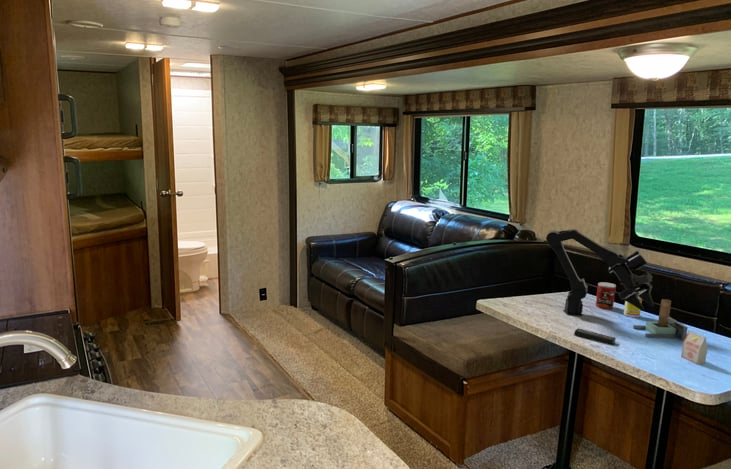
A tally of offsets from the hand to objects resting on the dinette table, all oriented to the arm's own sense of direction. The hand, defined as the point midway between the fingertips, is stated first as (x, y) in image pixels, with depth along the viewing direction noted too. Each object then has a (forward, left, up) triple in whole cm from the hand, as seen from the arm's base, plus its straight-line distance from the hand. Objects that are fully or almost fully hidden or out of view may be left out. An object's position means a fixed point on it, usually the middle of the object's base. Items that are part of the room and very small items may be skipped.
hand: (648, 308), depth 230 cm
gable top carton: (0, -32, -9) cm, 34 cm away
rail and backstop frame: (+2, -5, -9) cm, 11 cm away
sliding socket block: (+3, -5, -9) cm, 11 cm away
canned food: (-4, +30, -9) cm, 31 cm away
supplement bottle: (+3, +18, -9) cm, 20 cm away
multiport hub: (-28, -14, -10) cm, 32 cm away
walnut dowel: (+4, -5, -8) cm, 10 cm away
